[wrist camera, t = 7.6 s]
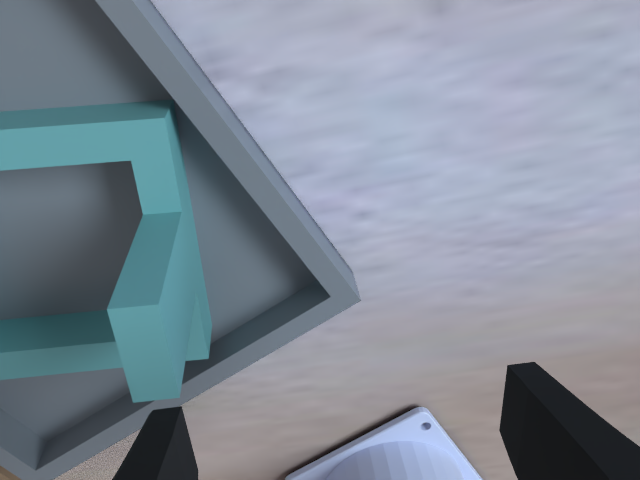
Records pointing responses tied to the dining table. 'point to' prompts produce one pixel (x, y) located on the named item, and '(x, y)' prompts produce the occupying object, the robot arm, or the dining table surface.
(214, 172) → the tray
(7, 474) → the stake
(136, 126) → the collar
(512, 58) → the dining table surface
